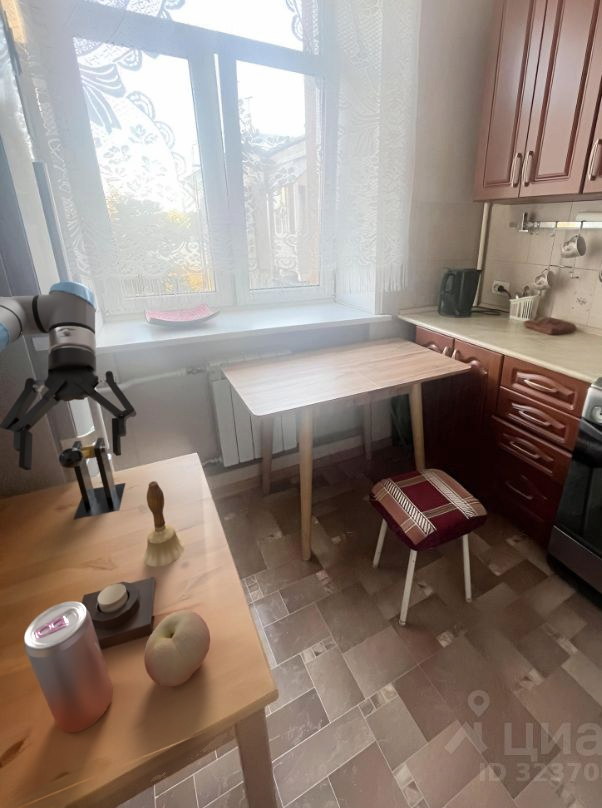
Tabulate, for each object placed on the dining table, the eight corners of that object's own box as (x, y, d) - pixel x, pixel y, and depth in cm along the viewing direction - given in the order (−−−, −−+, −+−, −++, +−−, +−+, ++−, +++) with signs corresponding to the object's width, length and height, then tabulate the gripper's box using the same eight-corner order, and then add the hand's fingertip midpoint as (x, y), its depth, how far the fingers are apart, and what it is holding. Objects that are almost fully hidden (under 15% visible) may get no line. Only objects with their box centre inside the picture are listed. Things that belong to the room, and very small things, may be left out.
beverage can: (52, 706, 49) (18, 622, 44) (106, 671, 53) (81, 590, 48) (62, 748, 45) (25, 662, 40) (120, 708, 49) (94, 624, 44)
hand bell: (184, 533, 77) (172, 464, 71) (194, 561, 71) (182, 488, 65) (136, 550, 73) (120, 478, 67) (142, 582, 66) (125, 505, 60)
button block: (72, 659, 54) (65, 639, 53) (86, 604, 62) (80, 586, 61) (152, 634, 58) (148, 615, 57) (156, 586, 66) (153, 568, 64)
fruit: (142, 662, 54) (132, 621, 51) (201, 628, 59) (194, 589, 56) (158, 713, 49) (148, 671, 46) (221, 671, 54) (215, 630, 51)
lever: (81, 467, 68) (79, 446, 68) (56, 471, 67) (54, 450, 67) (102, 458, 81) (100, 441, 81) (81, 461, 80) (79, 444, 80)
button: (97, 616, 57) (95, 607, 56) (102, 596, 60) (99, 587, 59) (126, 608, 58) (124, 599, 57) (129, 589, 61) (127, 580, 60)
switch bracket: (120, 515, 81) (105, 453, 76) (74, 524, 78) (55, 461, 73) (126, 487, 90) (113, 430, 84) (85, 494, 87) (69, 435, 81)
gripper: (-20, 351, 69) (-31, 469, 61) (141, 340, 78) (148, 442, 71) (1, 369, 75) (-6, 479, 68) (147, 357, 84) (154, 453, 77)
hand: (72, 460), depth 69 cm, fingers open, 13 cm apart
